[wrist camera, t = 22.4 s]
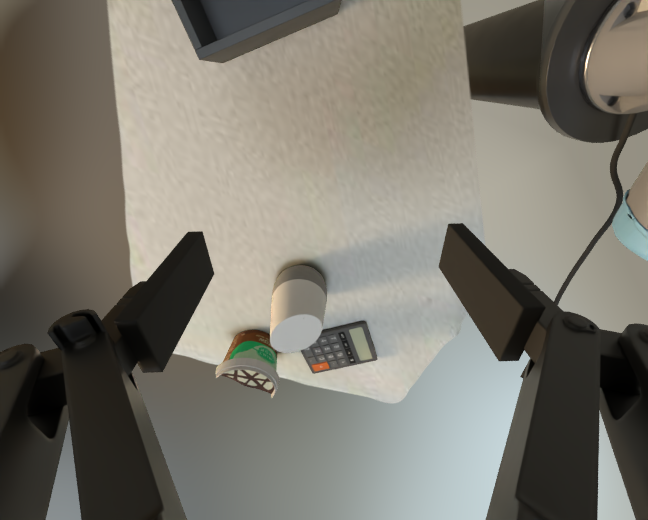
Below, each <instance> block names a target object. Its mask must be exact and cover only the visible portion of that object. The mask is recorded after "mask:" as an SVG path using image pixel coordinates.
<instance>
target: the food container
mask: <svg viewBox="0 0 648 520" xmlns="http://www.w3.org/2000/svg"><path fill="white" fill-rule="evenodd" d="M276 364H277V350H275V349H274V348H273V347H272V346H271V343H270V335H269V334H268V333H266V332H263V331H260V330H247V331H243V332H241V333H239V334H238V335H236V337H235V338H234V340H233V342H232V344H231V346H230V348H229V350H228V352H227V355H226V357H225V359H224V361H223V363H221V364H220V365H218V366H217V368H216V375H217V376H216V378H217V377H218V376H220V375H222V376H225V377H228V378H231V379H233V380H235V381H237V382H239V383H241V384H243V385H244V386H247V387H252V388H256V389H260V390H263V391H266V392H268V393H271V398H272V397H273V396H274V394H275V393H276V390H277V387H278V385H279V376H278V374H277V372H276Z"/></svg>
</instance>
